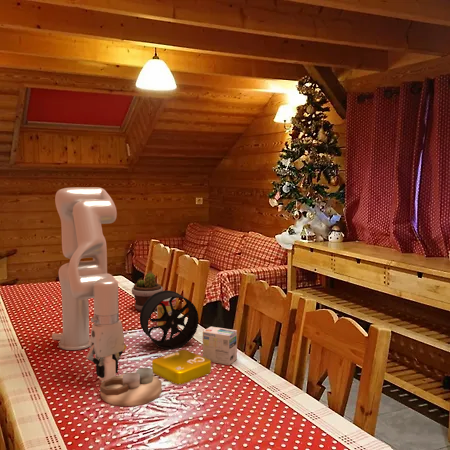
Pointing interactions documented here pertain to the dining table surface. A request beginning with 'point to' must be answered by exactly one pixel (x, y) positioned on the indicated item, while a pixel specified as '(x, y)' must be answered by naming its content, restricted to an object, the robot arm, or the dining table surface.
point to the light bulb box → (220, 345)
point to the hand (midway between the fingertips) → (107, 373)
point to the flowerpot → (145, 290)
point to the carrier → (131, 388)
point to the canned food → (161, 311)
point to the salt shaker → (108, 368)
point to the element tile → (181, 366)
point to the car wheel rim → (170, 320)
